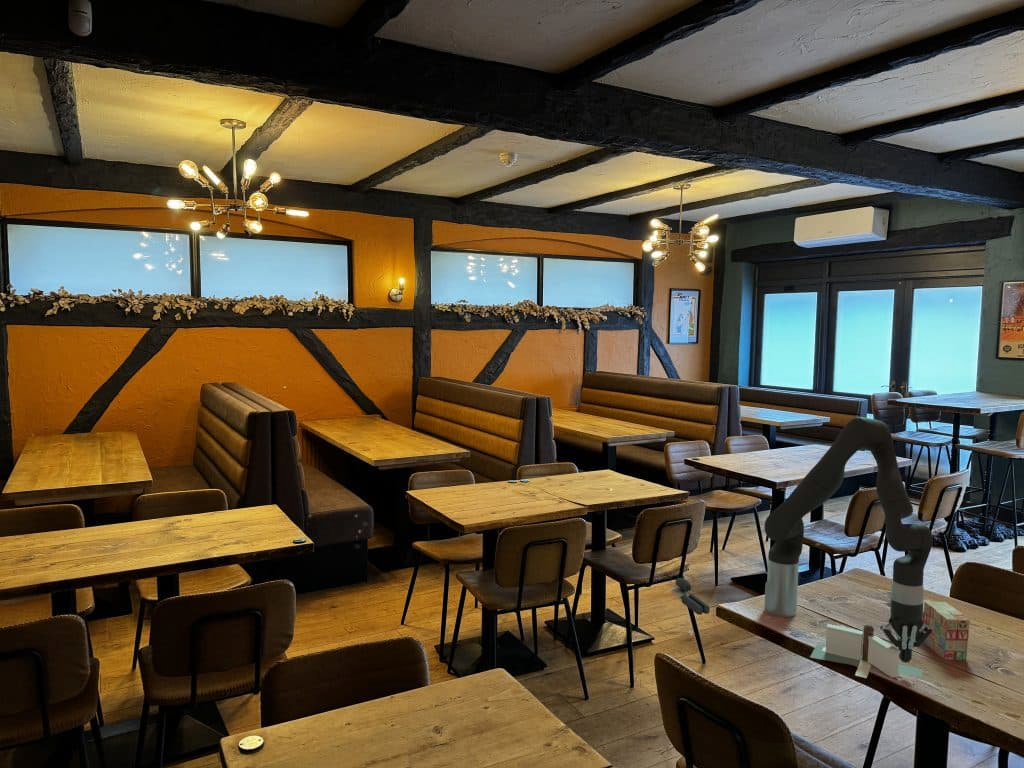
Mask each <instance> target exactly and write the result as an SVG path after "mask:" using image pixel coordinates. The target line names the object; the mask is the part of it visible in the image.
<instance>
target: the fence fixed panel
mask: <svg viewBox="0 0 1024 768" xmlns="http://www.w3.org/2000/svg"><path fill="white" fill-rule="evenodd" d="M825 628H826V638H825V639H826V640H825V642H826V643H825V646H826V651H827V652H831V653H835V654H839V655H843V656H848V657H852V658H856V659H860V660H861V657H862V652H863V634H864V630H858V629H853V628H849V627H845V626H844V627H843V626H840V625H834V624H831V623H827V625H826V627H825Z"/></svg>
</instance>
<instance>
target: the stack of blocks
mask: <svg viewBox="0 0 1024 768" xmlns="http://www.w3.org/2000/svg"><path fill="white" fill-rule="evenodd" d="M922 620H923V622H924V625H926V626H927V627H929V628H930V629H931V630H932V632H931V634H930V635H929V636H928V637H927V638H926V639H925V641H924V642H923V643H925V645H927V646H928V647H930V649H931V650H932V651H934V653H936V654H937V655H938V656H939V657H940V658H942V659H943V660H947V661H949V660H950V661H951V660H953V661H954V660H955V661H957V660H958V661H967V655H968V651H967V650H968V643H969V642H968V641H969V632H970V631H969V629H970V621H971V620H970V619H969V618H967V617H966V616H965V615H964V614H963V613H961V611H959V610H958V609H956V608H954V607H953V606H951V605H950V604H949V603H947V601H931V600H929V599H924V600H923V617H922Z"/></svg>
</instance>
